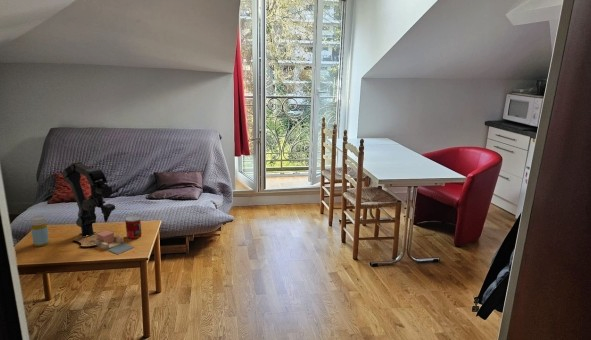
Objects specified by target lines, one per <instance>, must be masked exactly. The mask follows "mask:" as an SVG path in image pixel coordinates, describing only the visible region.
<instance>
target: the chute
mask: <svg viewBox="0 0 591 340" xmlns="http://www.w3.org/2000/svg"><path fill="white" fill-rule="evenodd" d="M114 240H115V241H114V242H111V243H109V244H107V243H105V242H102V241H100V240H97V238H93V239H92V244H93V243H94V244H96V245H97V246H96V247H97V248H99V249H100V248H101V249H103V250H106V251H108V249H111V248H113V247H116V246H118V245H121V244H123V243H125V241H124V238H123V237H121V236H118V235H116V234H114Z"/></svg>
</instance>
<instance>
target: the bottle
mask: <svg viewBox="0 0 591 340" xmlns="http://www.w3.org/2000/svg"><path fill="white" fill-rule="evenodd" d="M30 223H31V226H30V230H31V236H32V241H33V245H34V246H35V247H38V248H39V247H44V246H47V245H48V244H50V243H49V242H50V239H49V230H48V225H47V223H46V218H45V216H44V215H36V216H33V217H31V218H30Z"/></svg>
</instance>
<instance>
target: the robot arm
mask: <svg viewBox="0 0 591 340" xmlns="http://www.w3.org/2000/svg"><path fill="white" fill-rule="evenodd" d="M61 174H62V177H63V178H64V181H65V182H66V183H67V184H68V185H70V187H71V190H72V193H73V196H74V199H75V202H76V205H77V207H78V213H77V217H78V218H77V219H76V221H75V223H76V226H77V227H79V228H80V230H81V233H79V234H78V235H79V236H82V237H83V236H86V235H90V236H92V234H93V235H95V234H94V233H96V232H95V231H94V228H93V227H94V226H93V224H96V222H97V214H96V213H95V212H96V208H99V209H100V211H101V213H102V214H103V220H104V223H107V222H108V220H109V218H110V215H111V213H112V212H113V211H115V210H116V205H115V204H113V203H107V204H106V200H104V198H110V197H111V196H112V194H113V190H112V188H111V187H110V186H109V185H108V179H107V177H106V176H105V173H104V171H102V169H99V168H91V167H89V166H86V165H85V164H83V163H82V162H81V161H79V162H78V161H77V162H72V163H70V164H69V166H67V167H66V168H64V169H63V171H62V173H61ZM82 175H83V176H85V179H86V180H87V181H88V182H87V184H88V185H89V188H90V195H89V196H88V199H86V196H85V194H84V190H83V188H82V184H81V183H80V182H81V179H82V178H81V177H82ZM96 234H97V233H96Z"/></svg>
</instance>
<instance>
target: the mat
mask: <svg viewBox="0 0 591 340" xmlns="http://www.w3.org/2000/svg"><path fill="white" fill-rule="evenodd" d="M134 248H135V246H133V245H131V244H128V243H125V242H124V243H123V244H121V245H118V246H116V247H113V248H111V249H108V250H107V251H108V252H110V253H113V254H116V255H120V254H122V253H125V252H127V251H129V250H131V249H134Z"/></svg>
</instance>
